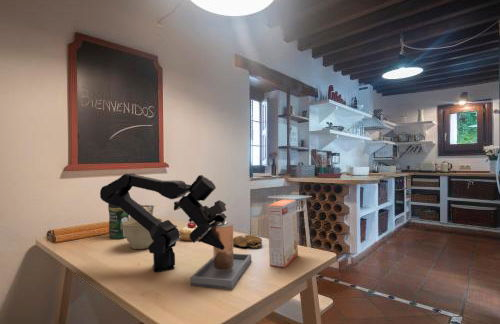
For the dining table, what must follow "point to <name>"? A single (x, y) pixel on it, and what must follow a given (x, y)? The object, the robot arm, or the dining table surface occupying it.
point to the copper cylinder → (225, 256)
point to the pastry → (187, 231)
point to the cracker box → (282, 232)
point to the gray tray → (221, 273)
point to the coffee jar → (116, 221)
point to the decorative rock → (247, 241)
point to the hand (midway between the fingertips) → (227, 245)
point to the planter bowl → (137, 234)
